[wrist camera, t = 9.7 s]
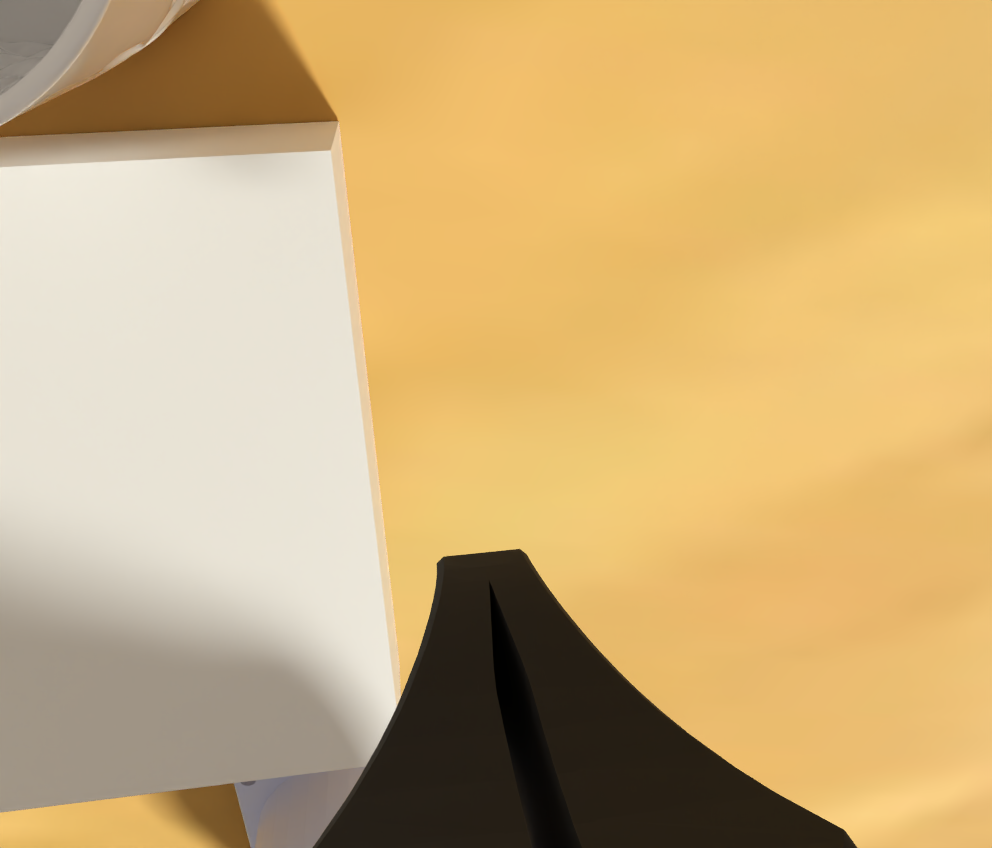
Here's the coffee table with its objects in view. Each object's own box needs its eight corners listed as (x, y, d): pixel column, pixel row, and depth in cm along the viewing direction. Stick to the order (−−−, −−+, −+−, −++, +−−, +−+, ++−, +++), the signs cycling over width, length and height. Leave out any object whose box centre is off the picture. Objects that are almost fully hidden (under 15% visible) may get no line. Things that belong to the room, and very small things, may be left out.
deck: (399, 662, 27) (403, 761, 24) (19, 705, 26) (-36, 817, 23) (338, 121, 19) (330, 150, 16) (-214, 147, 18) (-357, 185, 15)
